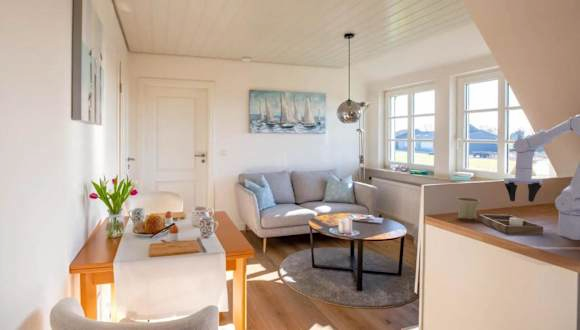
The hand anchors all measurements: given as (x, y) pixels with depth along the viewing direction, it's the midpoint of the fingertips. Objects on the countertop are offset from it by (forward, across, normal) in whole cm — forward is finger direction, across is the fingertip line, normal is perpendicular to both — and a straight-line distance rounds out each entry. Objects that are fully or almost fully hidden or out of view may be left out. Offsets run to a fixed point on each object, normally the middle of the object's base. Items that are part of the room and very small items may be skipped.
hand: (521, 201), depth 156 cm
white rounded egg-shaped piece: (+9, +10, +13) cm, 19 cm away
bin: (+10, +10, +8) cm, 16 cm away
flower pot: (+10, +18, -8) cm, 22 cm away
